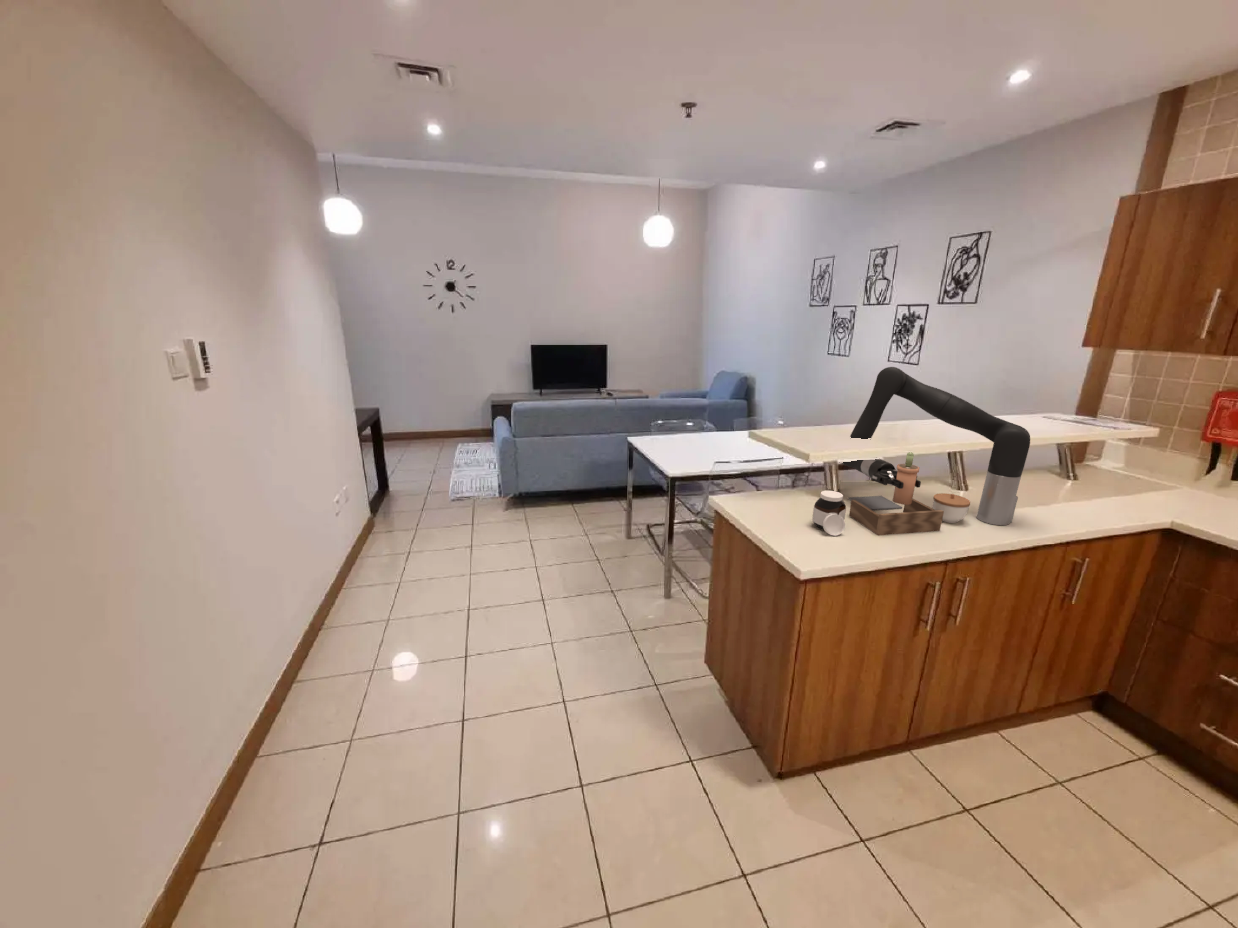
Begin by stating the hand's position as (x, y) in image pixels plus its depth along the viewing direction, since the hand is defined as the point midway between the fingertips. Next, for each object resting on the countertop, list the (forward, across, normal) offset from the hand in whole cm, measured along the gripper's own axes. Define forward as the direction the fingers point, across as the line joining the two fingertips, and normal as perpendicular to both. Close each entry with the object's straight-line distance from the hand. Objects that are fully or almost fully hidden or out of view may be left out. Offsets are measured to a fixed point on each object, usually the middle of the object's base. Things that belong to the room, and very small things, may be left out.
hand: (910, 485), depth 162 cm
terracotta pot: (-3, 0, +7) cm, 7 cm away
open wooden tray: (-5, 0, +15) cm, 16 cm away
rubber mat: (-22, +5, +15) cm, 27 cm away
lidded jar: (-5, +21, +16) cm, 27 cm away
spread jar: (-4, -24, +15) cm, 29 cm away
